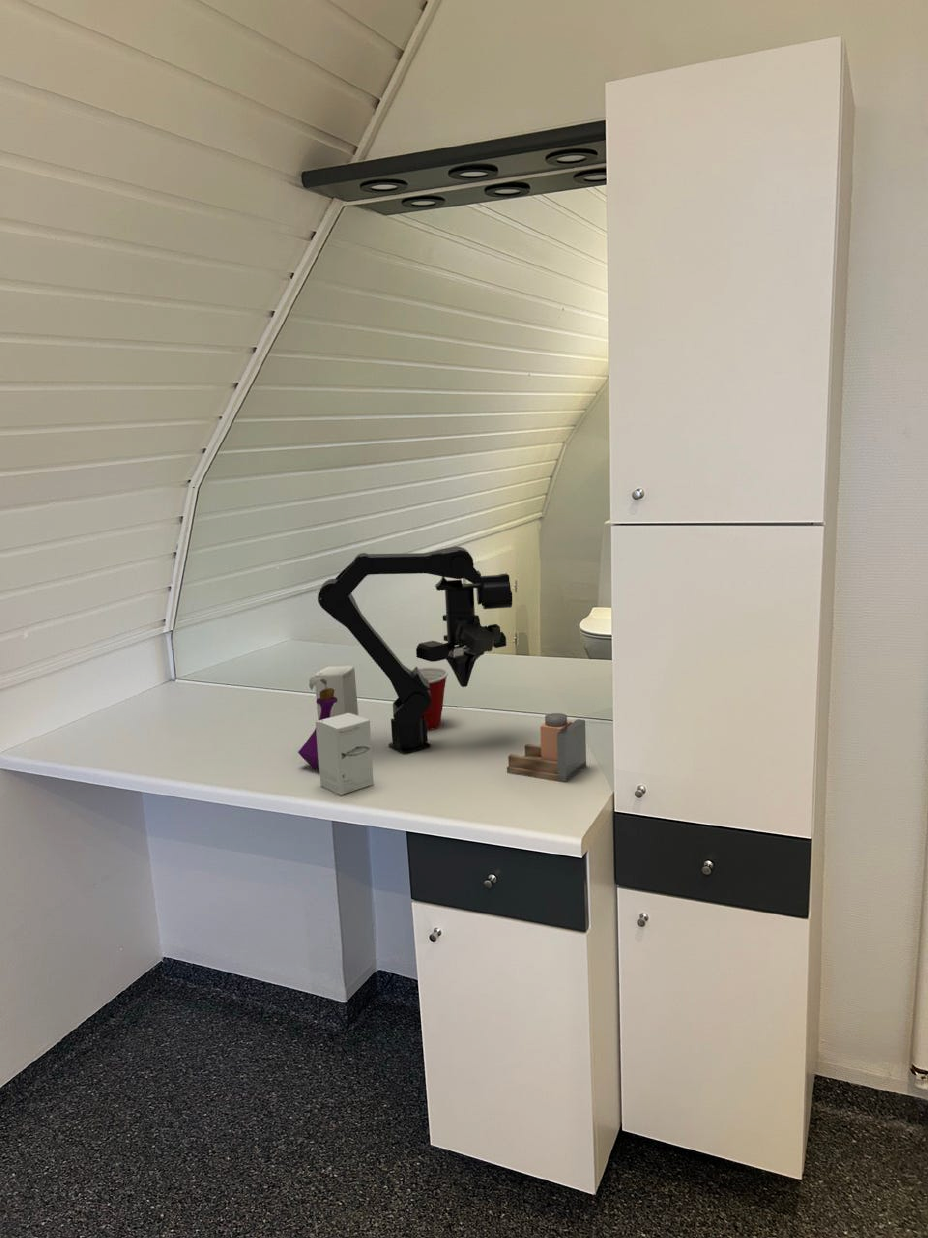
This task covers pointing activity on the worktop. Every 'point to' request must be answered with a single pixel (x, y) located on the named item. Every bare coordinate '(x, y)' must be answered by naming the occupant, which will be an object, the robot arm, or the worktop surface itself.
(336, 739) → the supplement box
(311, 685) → the perfume bottle
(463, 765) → the worktop surface
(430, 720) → the plastic cup
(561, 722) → the knob slider
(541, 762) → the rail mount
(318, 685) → the skincare box
